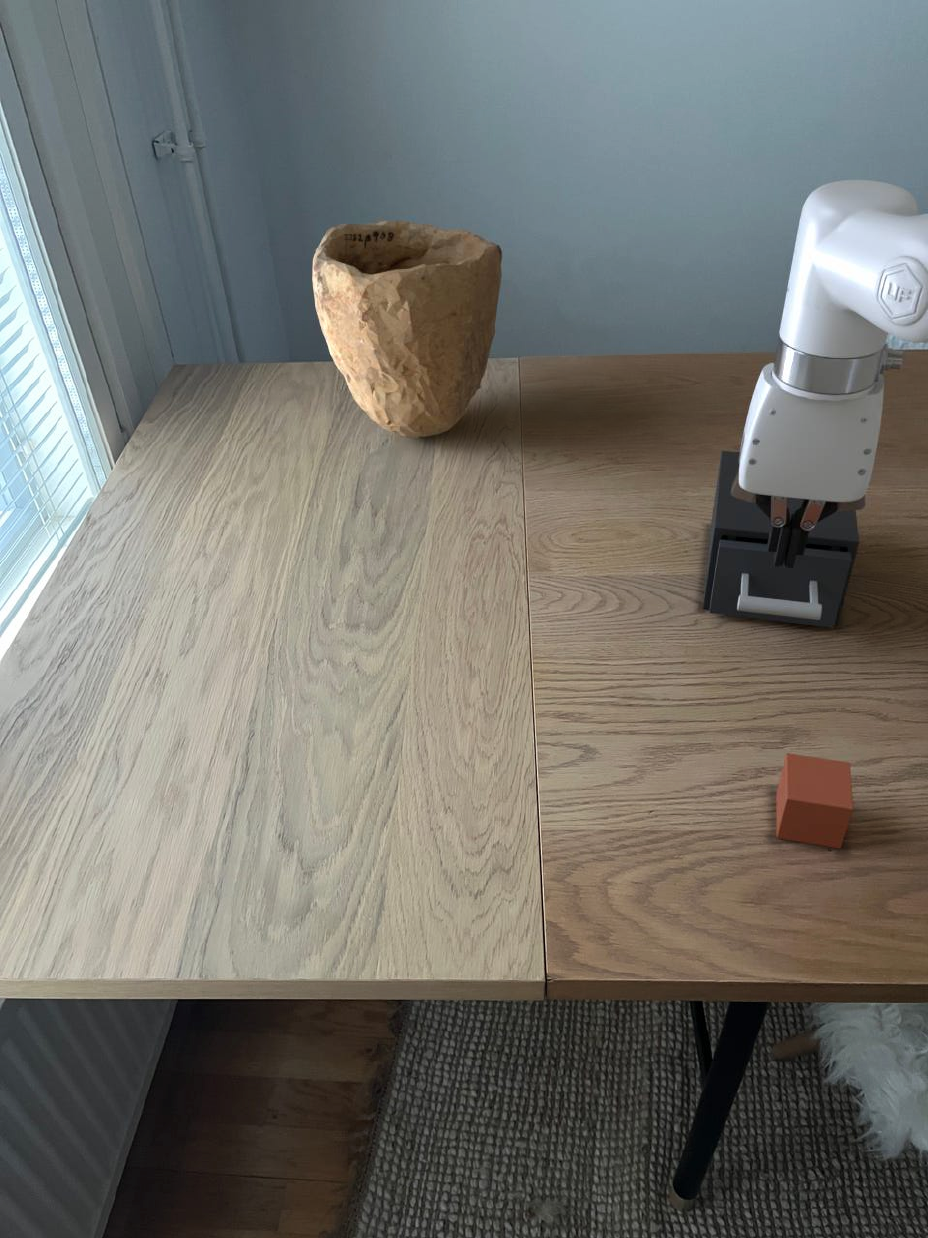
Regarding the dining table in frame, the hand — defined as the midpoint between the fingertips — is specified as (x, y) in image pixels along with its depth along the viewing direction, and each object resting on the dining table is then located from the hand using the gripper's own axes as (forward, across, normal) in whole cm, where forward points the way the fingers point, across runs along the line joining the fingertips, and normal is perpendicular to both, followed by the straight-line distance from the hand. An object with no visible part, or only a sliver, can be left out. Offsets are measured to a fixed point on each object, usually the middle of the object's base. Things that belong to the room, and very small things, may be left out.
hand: (783, 557), depth 83 cm
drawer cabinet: (+10, 0, -11) cm, 14 cm away
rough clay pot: (+10, +44, -34) cm, 56 cm away
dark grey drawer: (+9, 0, -6) cm, 11 cm away
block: (+9, -3, +21) cm, 23 cm away
